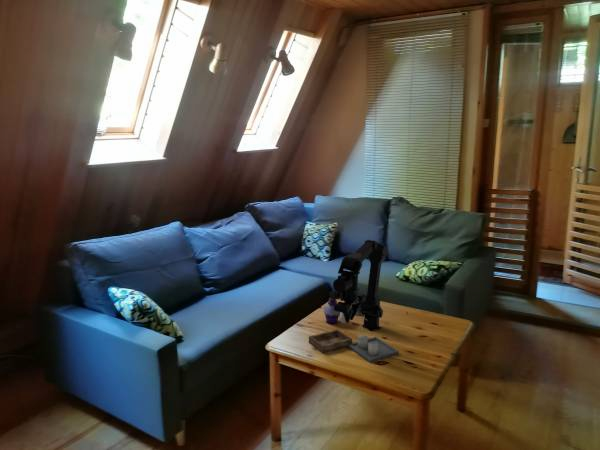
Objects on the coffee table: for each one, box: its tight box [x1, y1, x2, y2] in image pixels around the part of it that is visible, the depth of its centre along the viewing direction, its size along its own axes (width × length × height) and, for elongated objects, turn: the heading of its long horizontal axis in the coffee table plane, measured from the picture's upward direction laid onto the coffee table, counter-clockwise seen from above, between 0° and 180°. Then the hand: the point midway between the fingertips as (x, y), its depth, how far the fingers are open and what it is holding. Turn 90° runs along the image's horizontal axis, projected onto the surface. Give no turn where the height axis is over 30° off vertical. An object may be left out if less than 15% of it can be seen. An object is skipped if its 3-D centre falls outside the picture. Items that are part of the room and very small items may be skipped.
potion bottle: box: [323, 297, 340, 325], centre depth 220 cm, size 9×9×12 cm
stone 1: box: [339, 312, 351, 324], centre depth 196 cm, size 4×4×4 cm
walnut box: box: [308, 329, 353, 354], centre depth 199 cm, size 15×11×3 cm
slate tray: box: [347, 336, 400, 364], centre depth 194 cm, size 15×15×1 cm
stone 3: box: [368, 342, 378, 356], centre depth 189 cm, size 4×4×4 cm
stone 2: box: [357, 334, 369, 349], centre depth 195 cm, size 4×4×4 cm
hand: (349, 321), depth 195 cm, fingers closed on stone 1, 3 cm apart
